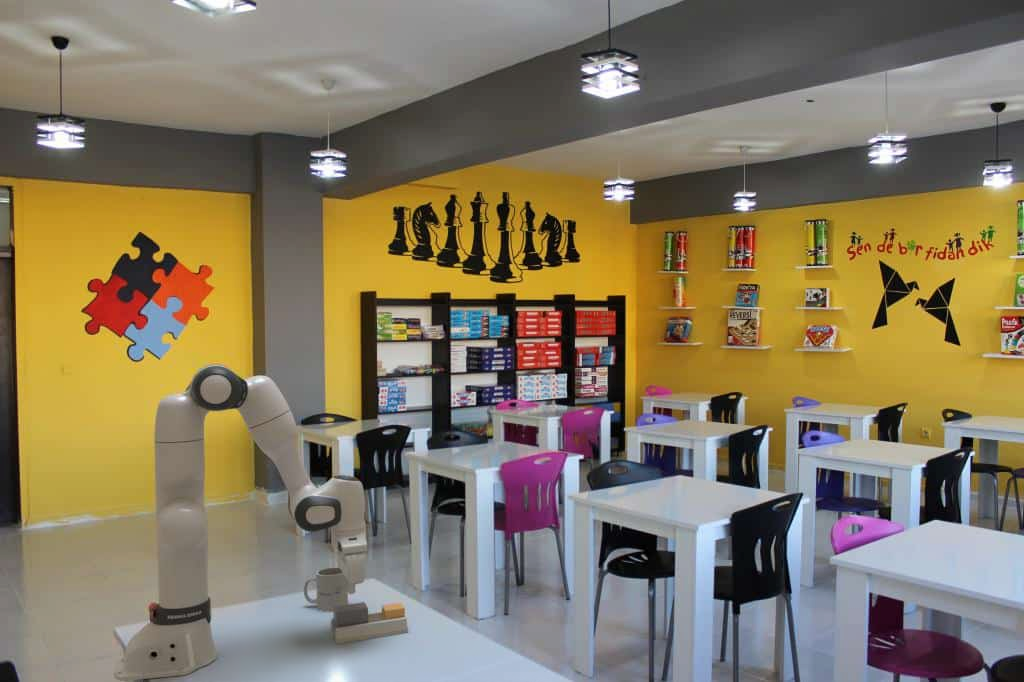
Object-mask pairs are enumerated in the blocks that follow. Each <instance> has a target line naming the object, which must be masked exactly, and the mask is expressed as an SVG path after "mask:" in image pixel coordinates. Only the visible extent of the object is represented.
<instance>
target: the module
mask: <svg viewBox="0 0 1024 682" xmlns="http://www.w3.org/2000/svg"><path fill="white" fill-rule="evenodd" d="M332 613H333V618H334V631H335V633H336V630H335V628H339V627H345V626H352V625H358V624H365V623H368V613H369V607H368V605H367V604H366V603H365V602H364V601H362V602H357V603H348V605H341V606H334V607H333V611H332Z"/></svg>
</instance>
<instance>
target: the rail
mask: <svg viewBox="0 0 1024 682" xmlns="http://www.w3.org/2000/svg"><path fill="white" fill-rule="evenodd" d="M405 610H406V608H405V607H404V605H403V604H402V603H401V602H395V603H390V604H382V605H381V610H380V611H373V612H368V623H365V624H358V625H352V626H345V627H339V628H335V630H336V633H335V631H334V617H331V618H330V633H331V635H332V636H334V637H333V639H334V640H336V641H335V644H336V645H338V644H345V643H350V642H356V641H357V640H358V641H362V640H370V639H375V638H376V637H377V638H382V636H383V637H387V636H394V635H401V634H407V633H409V632H408V618H407V616H406V611H405ZM358 641H357V642H358Z"/></svg>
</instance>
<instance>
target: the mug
mask: <svg viewBox="0 0 1024 682" xmlns="http://www.w3.org/2000/svg"><path fill="white" fill-rule="evenodd" d="M315 575H316V576H311V577H308V578H307V579H306V580H305V583H304V585H303V596H304V598H305V600H306V601H307V603H310V604H316V607H317V608H316V609H317V610H318V611H320V610H321V612H327V613H328V612H333V607H334V606H341V605H348V604H349V596H348V595H349V593H348V591H347V589H346V581H345V576H344V574H343V573H342V571H341V570H340V568H339V566H337V567H335V566H333V567H331V566H330V567H326V568H322V569H319V570H317V571H316V572H315ZM312 581H314V582H316V583H315V584H316V598H314V599H313V598H310V597H309V594H308V585H309V583H310V582H312Z"/></svg>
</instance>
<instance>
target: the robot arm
mask: <svg viewBox="0 0 1024 682" xmlns="http://www.w3.org/2000/svg"><path fill="white" fill-rule="evenodd" d="M234 409H235V410H237V411H238V412H239V414H240V415H241V417H242V419H243V421H244V423H245V424H246V425H245V426H246V427H247V430H248V431H249V434H250V435H251V438H252V439H253V441H254V442H255V444H256V446H258V447H259V449H260V450H261V451H262V452H263V453H264V454H265V455H266V456H267V457H268V458H270V460H271V461H272V462H273V463H274V465H275V467H276V468H277V470H278V471H277V472H278V473H279V475H280V478H281V479H282V481H283V484H284V486H285V488H286V491H287V495H288V496H287V498H288V499H287V506H288V507H287V508H288V513H289V515H290V516H291V518H292V519H293V520H294V521H295V523H296V524H297V526H298V527H299V528H300V529H302V530H303V531H306V532H310V533H311V532H312V533H314V532H319V531H322V530H323V531H324V530H326V529H329V528H330V539H331V548H332V549H336V562H337V567H339V568H340V570H341V571H342V573H343V574H344V576H345V581H346V589H347V591H348V595H355V593H356V585H359V584H363V583H364V582H365V578H366V577H365V576H366V552H367V551H368V541H367V526H366V525H367V523H366V521H365V512H366V500H365V499H366V498H365V491H364V487H363V484H362V481H361V480H360V479H358V478H357V477H355V476H351V475H344V474H341V475H340V474H339V475H333V476H332V477H331V478H330V480H328V481H327V482H325V483H324V484H322V485H320V486H318V485H316V484H315V483H314V482H313V481H312V480H311V478H310V477H309V475H308V474H309V473H308V472H307V469H306V468H305V466H304V464H303V461H302V459H301V456H300V454H299V449H298V439H299V433H298V427H297V423H296V420H295V417H294V414H293V413H292V410H291V408H290V406H289V404H288V402H287V400H286V398H285V397H284V395H283V393H282V392H281V390H280V388H279V387H278V386H277V384H276V383H275V381H274V380H273V379H272V378H270V377H269V376H266V375H254V376H251V377H247V378H245V379H244V378H242V377H241V376H240V375H238V374H237V373H235V372H234V371H233V370H232V369H231V368H230V367H228V366H226V365H224V364H219V363H210V364H207V365H205V366H203V367H201V368H199V369H198V370H197V371H196V372H195V373H194V374H193V377H192V379H191V381H190V383H189V384H188V386H187V388H186V389H185V391H183V392H180V393H172V394H169V395H167V396H165V397H163V398H162V399H160V401H159V402H158V405H157V409H156V415H155V423H154V435H153V436H154V437H153V439H154V474H155V475H154V477H155V479H154V480H155V481H154V482H155V486H154V487H155V490H154V491H155V522H156V525H155V526H156V543H157V544H156V545H157V548H156V549H157V587H158V603H157V602H151V603H150V604H149V605H148V609H147V610H148V612H149V622H148V623H146V624H145V625H144V626H143V627H142V628H141V629H140V630H138V631H137V632H136V633H135V634H134V635H133V636H132V637H131V638H130V639H129V640H128V643H127V645H126V647H125V652H124V655H123V656H124V657H122V658H121V659H119V660H118V661H117V662H116V664H115V665H114V666H115V667H114V669H113V676H114V678H115V679H116V680H117V681H119V682H123V681H124V682H127V681H134V680H135V681H137V680H146V679H157V678H166V677H176V676H178V677H179V676H185V675H189V674H191V673H193V672H194V671H195V670H197V669H200V668H203V667H204V666H207V665H209V664H211V663H212V662H213V661H215V660H216V659H217V658H218V656H219V655H218V652H217V648H216V645H215V642H214V637H213V633H212V626H211V621H212V602H211V601H212V600H211V597H210V596H209V576H208V575H209V574H208V571H209V570H208V564H209V563H208V560H209V559H208V558H209V557H208V556H209V528H208V527H209V525H208V523H209V522H208V521H209V520H208V517H207V514H206V511H205V476H206V475H205V473H206V464H205V462H206V460H205V419H206V417H207V415H208V413H209V412H222V411H228V410H234Z"/></svg>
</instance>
